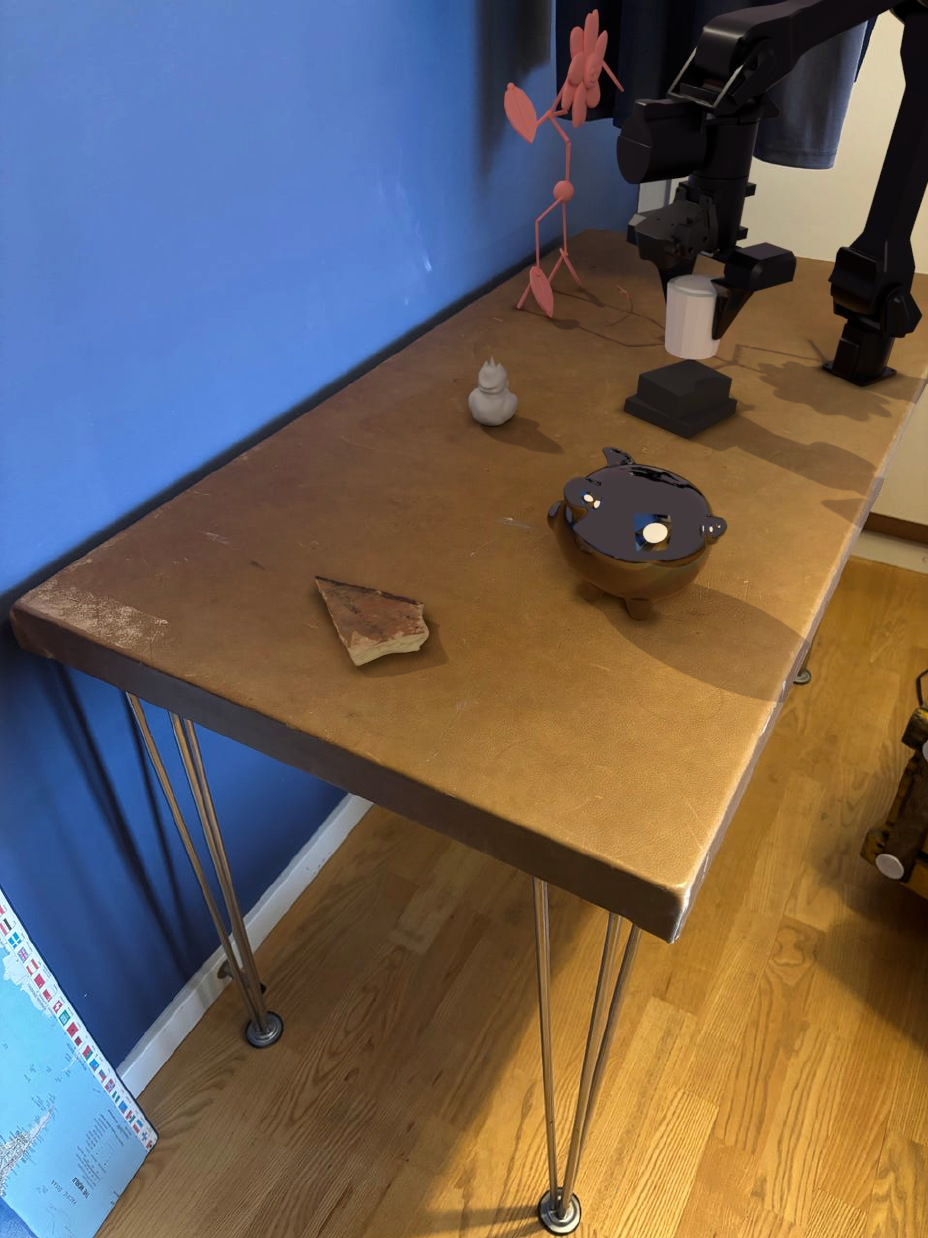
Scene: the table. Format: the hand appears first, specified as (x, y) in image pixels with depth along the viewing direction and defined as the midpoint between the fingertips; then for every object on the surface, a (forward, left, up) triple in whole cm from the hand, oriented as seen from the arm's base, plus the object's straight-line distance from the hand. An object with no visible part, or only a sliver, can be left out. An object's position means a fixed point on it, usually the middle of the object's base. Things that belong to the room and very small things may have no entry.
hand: (694, 328), depth 98 cm
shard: (+49, +15, -10) cm, 52 cm away
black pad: (0, 0, -8) cm, 8 cm away
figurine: (-10, -32, -10) cm, 35 cm away
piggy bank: (+27, +22, -10) cm, 36 cm away
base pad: (0, 0, -10) cm, 10 cm away
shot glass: (0, 0, -2) cm, 2 cm away
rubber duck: (+19, -10, -10) cm, 24 cm away
